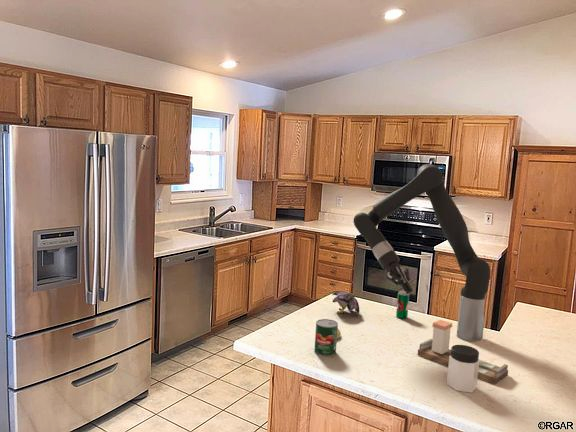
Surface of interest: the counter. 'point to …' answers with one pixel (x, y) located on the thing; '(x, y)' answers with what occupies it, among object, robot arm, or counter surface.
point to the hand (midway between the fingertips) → (410, 292)
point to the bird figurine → (346, 301)
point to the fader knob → (441, 336)
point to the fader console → (485, 369)
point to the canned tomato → (326, 337)
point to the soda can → (402, 305)
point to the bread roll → (338, 334)
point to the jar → (463, 368)
